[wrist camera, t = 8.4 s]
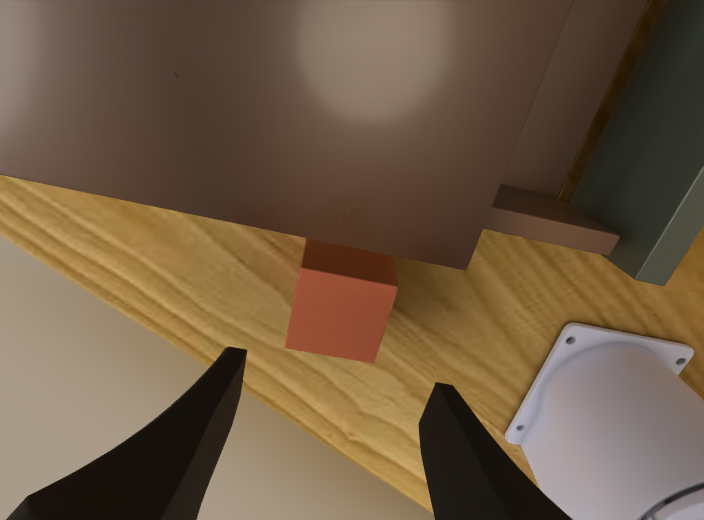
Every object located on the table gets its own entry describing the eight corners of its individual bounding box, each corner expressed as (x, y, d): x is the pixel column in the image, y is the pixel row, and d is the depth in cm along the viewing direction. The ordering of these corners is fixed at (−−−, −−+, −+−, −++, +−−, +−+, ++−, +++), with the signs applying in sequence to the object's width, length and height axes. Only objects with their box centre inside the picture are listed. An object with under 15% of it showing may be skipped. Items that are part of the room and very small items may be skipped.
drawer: (839, -13, 15) (1088, -52, 10) (674, 249, 20) (787, 312, 15) (368, -166, 13) (382, -310, 8) (307, 166, 18) (291, 207, 13)
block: (369, 313, 22) (374, 364, 19) (294, 299, 22) (284, 348, 18) (389, 246, 21) (399, 287, 17) (308, 229, 20) (299, 267, 16)
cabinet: (530, -124, 14) (688, -285, 8) (425, 201, 20) (466, 271, 13) (112, -261, 13) (-139, -611, 6) (119, 133, 18) (-13, 172, 11)
